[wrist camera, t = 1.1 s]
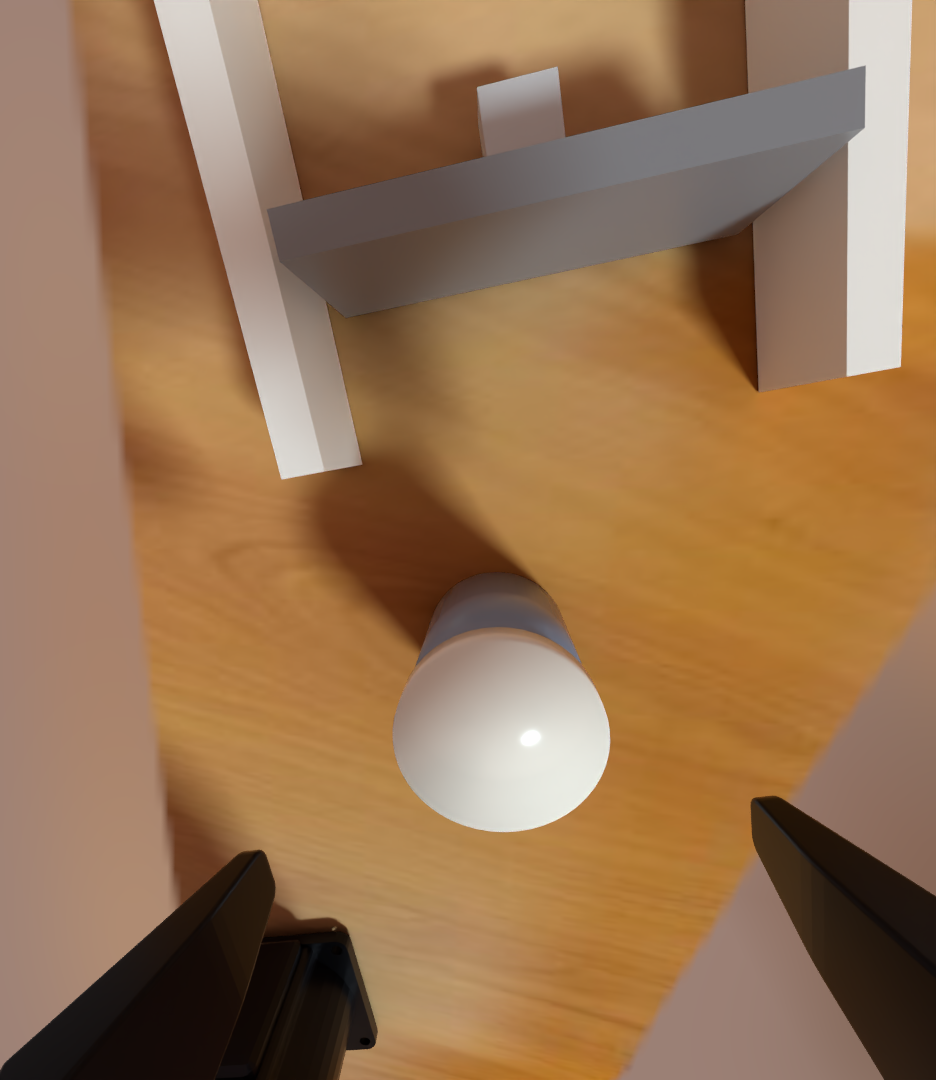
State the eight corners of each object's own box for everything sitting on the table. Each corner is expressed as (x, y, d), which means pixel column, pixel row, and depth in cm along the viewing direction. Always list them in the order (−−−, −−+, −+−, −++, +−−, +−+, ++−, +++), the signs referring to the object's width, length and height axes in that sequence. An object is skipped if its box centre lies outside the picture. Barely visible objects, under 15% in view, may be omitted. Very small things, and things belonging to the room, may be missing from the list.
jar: (576, 690, 16) (620, 820, 11) (441, 707, 17) (415, 841, 11) (558, 559, 15) (596, 626, 10) (414, 581, 16) (371, 658, 10)
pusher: (737, 234, 13) (864, 127, 8) (345, 318, 14) (279, 261, 9) (730, 69, 12) (868, -144, 7) (313, 171, 13) (225, 36, 9)
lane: (798, 385, 14) (968, 354, 9) (329, 470, 15) (251, 484, 10) (784, -475, 10) (1076, -1383, 5) (152, -255, 11) (-111, -797, 6)
